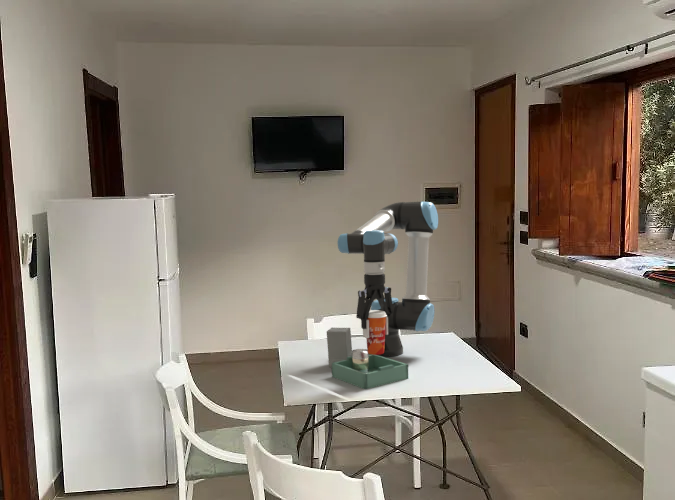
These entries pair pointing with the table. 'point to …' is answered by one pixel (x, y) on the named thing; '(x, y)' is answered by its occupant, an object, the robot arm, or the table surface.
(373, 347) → the coffee cup
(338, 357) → the skincare box
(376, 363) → the tote
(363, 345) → the table surface
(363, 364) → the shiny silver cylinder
